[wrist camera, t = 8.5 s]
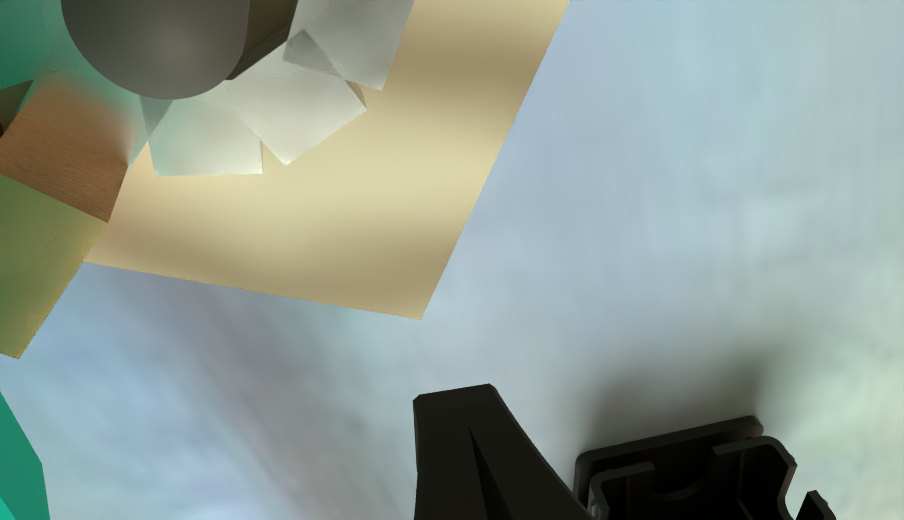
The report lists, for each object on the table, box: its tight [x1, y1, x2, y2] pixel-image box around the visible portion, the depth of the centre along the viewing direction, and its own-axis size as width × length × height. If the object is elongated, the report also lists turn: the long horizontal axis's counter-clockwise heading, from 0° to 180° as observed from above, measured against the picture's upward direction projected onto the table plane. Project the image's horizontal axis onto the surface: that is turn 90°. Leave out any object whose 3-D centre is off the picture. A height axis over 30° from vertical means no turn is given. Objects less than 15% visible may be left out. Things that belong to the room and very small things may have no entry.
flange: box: [0, 0, 415, 359], centre depth 14 cm, size 14×10×4 cm
